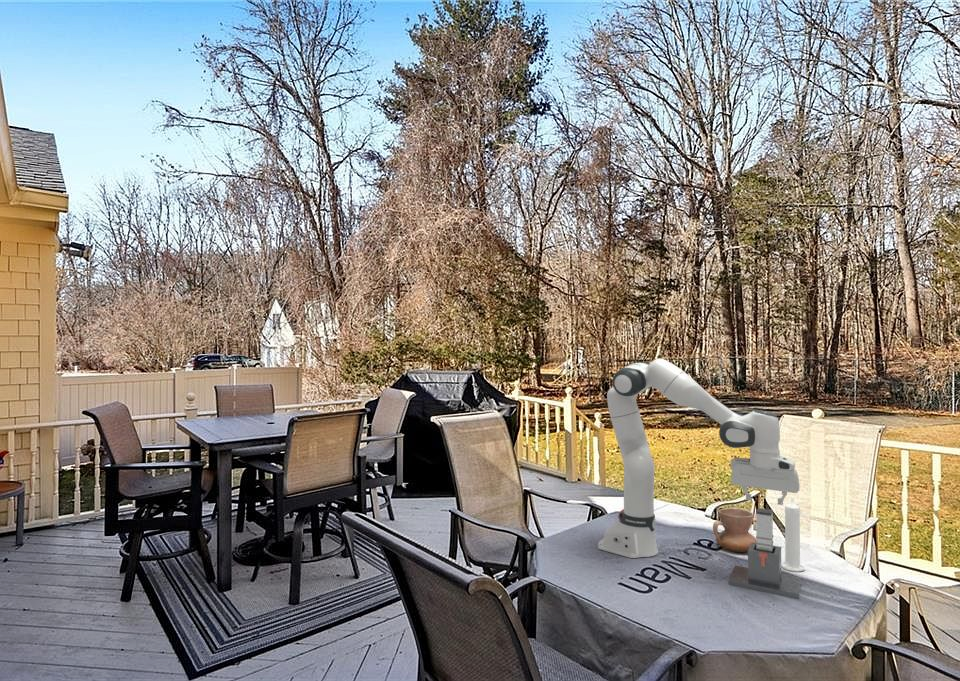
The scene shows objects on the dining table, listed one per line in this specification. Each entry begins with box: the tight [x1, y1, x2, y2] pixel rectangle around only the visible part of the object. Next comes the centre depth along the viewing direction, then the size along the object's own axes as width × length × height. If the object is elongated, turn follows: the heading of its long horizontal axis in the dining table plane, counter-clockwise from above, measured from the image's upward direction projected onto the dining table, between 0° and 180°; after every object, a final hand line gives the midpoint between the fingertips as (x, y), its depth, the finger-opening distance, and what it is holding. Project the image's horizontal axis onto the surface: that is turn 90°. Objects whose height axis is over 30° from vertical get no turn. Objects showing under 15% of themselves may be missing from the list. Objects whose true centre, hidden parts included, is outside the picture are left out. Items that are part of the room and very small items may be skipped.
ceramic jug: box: [712, 507, 757, 553], centre depth 218 cm, size 18×14×14 cm
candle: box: [781, 496, 805, 573], centre depth 199 cm, size 7×7×25 cm
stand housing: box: [728, 542, 802, 599], centre depth 187 cm, size 20×14×12 cm
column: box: [755, 507, 774, 553], centre depth 187 cm, size 5×5×16 cm
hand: (764, 502), depth 187 cm, fingers open, 8 cm apart
